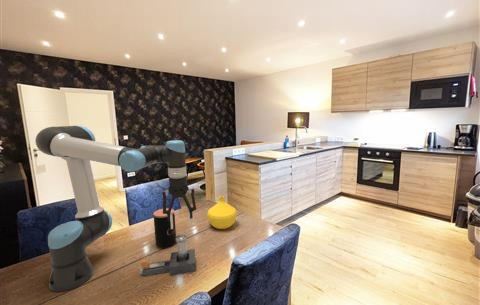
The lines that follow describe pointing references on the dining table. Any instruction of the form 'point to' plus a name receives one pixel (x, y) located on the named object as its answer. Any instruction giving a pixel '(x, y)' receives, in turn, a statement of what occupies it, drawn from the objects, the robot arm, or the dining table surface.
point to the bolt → (150, 265)
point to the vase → (222, 214)
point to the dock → (175, 265)
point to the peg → (182, 247)
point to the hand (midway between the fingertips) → (180, 226)
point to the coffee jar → (164, 229)
